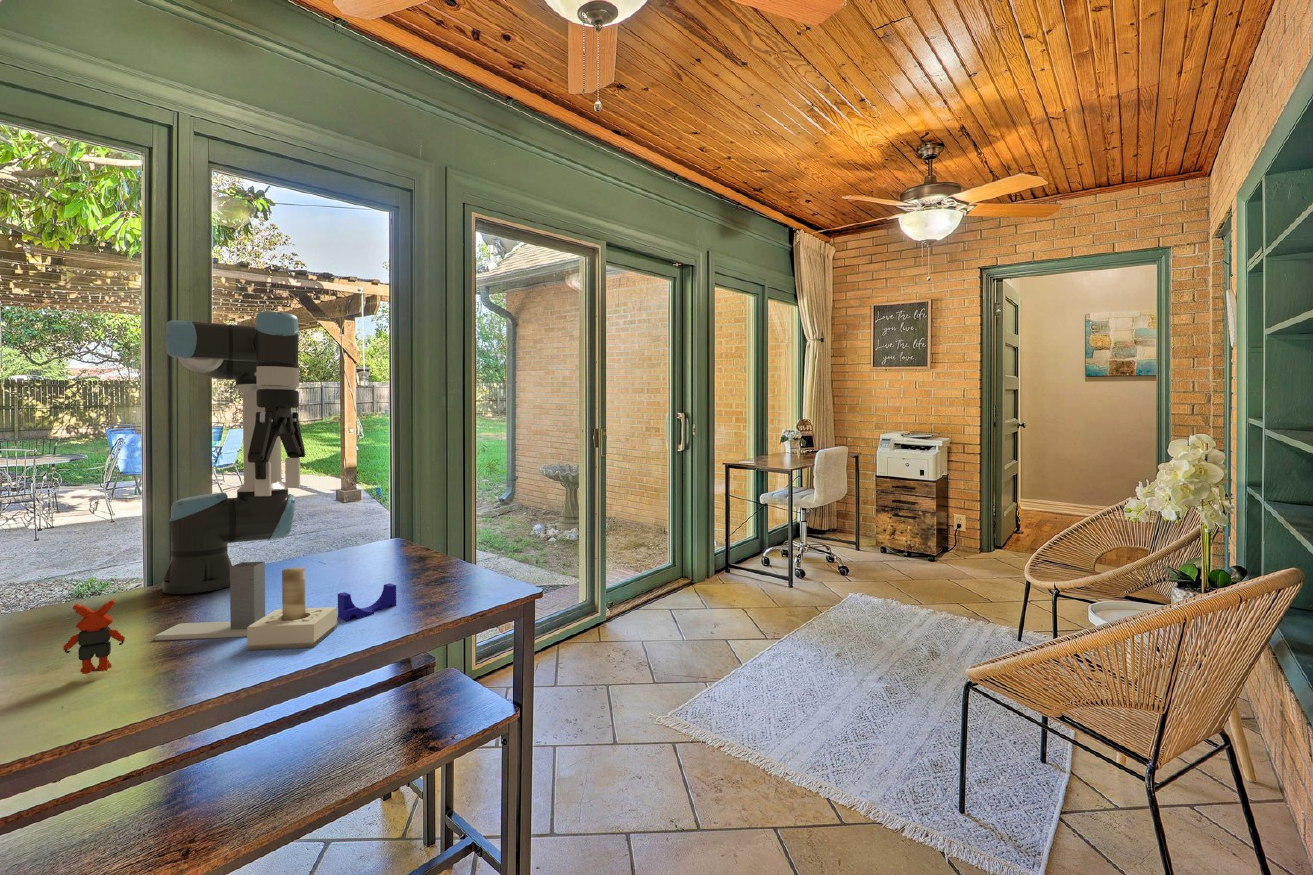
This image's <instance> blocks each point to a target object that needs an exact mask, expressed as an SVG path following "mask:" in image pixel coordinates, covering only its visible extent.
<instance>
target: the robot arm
mask: <svg viewBox="0 0 1313 875" xmlns="http://www.w3.org/2000/svg"><path fill="white" fill-rule="evenodd" d="M165 326H166V327H165V343H166V344H165V346H166V353H167V355H168V356H170V357H172V358H177V360H178V361H179V363H180V365H182V367H184V368H185V369H186V370H188V371H189V372H192V373H194V374H197V375H200V376H203V377H207V378H211V379H215V380H217V379H218V380H229V381H230V380H231V381H235V388H236V389H237V390H238V391H240V393H241V394H242V433H243V434H242V440H243V442H242V444H243V446H242V448H243V456H242V458H243V484H242V485H241V486H240V487H239V488H238V489H237V490H236V497H229V495H228V494H227V493H226V492H216V493H213V492H212V493H207V494H201V495H194V496H189V497H185V498H180V499H177V500H175V501H174V502H173V503H172V504H171V507H170V518H169V522H170V562H169V564H168V567H167V569H166V572H165V575H164V577H163V581H162V584H161V585H162V586H161V587H162V593H163V594H164V593H165V594H170V595H182V594H185V595H186V594H197V593H207V592H212V591H217V590H222V589H225V588H230V567H231V566H233V564H232V562H231V559H230V557H229V553H228V552H229V550H228V548H229V547H228V546H229V545H228V544H231V543H242V542H243V543H245V542H253V541H264V540H265V541H266V540H268V541H272V540H277V539H281V538H282V539H283V538H285V537H287V536H289V534H290V532H291V531H292V527H293V523H294V522H293V521H294V515H295V508H296V505H295V501H296V498H295V495H294V494H292V493H289V489H300V488H301V458H305V457H306V450H305V445H304V441H303V434H302V432H301V431H302V430H301V427H300V422H299V420H300V419H299V412H297V411H292V410H291V409H297V408H299V406H300V392H299V391H298V390H297V389H298V388H299V387H300V368H299V343H300V342H299V339H300V336H299V335H300V328H299V319H298V316H296V315H295V314H292V313H288V312H282V311H260V312H257V314H256V315H255V325H254V326H253V325H244V324H242V325H241V324H225V323H215V322H205V321H204V322H201V321H194V320H193V321H192V320H188V319H185V320H184V319H183V320H174V319H173V320H169V321H167V323H166V325H165ZM282 446H283V448H284V450H285V454H286V456H287V457H285V458H284V459H285V460H284V464H285V466H284V467H285V470H284V471H285V472H284V473H285V474H284V475H285V483H283V481H282Z"/></svg>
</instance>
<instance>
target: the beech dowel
mask: <svg viewBox="0 0 1313 875" xmlns="http://www.w3.org/2000/svg"><path fill="white" fill-rule="evenodd" d="M281 580H282V581H281V583H282V584H281V585H282V587H281V588H282V589H281V594H282V595H281V597H282V599H281V600H282V605H281V606H282V609H283V621H292V620H298V619H303V618H305V608H306V568H305V567H289V568H285V569H282V571H281Z"/></svg>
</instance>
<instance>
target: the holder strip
mask: <svg viewBox="0 0 1313 875" xmlns="http://www.w3.org/2000/svg"><path fill="white" fill-rule="evenodd" d="M239 637H240V638H242V637H247V629H237V630H231V620H230V621H229V620H228V621H209V622H207V621H206V622H205V621H204V622H202V621H201V622H186V623H185V622H184V623H178V624H176V625H173V626H172V627H169V628H168V629H166V630H163V631H162V632H159V633H158V634H156V635H155V636H154V641H172V640H173V641H174V640H196V639H217V638H239Z"/></svg>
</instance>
